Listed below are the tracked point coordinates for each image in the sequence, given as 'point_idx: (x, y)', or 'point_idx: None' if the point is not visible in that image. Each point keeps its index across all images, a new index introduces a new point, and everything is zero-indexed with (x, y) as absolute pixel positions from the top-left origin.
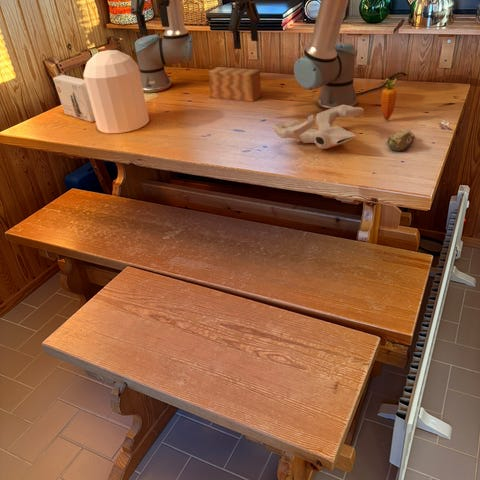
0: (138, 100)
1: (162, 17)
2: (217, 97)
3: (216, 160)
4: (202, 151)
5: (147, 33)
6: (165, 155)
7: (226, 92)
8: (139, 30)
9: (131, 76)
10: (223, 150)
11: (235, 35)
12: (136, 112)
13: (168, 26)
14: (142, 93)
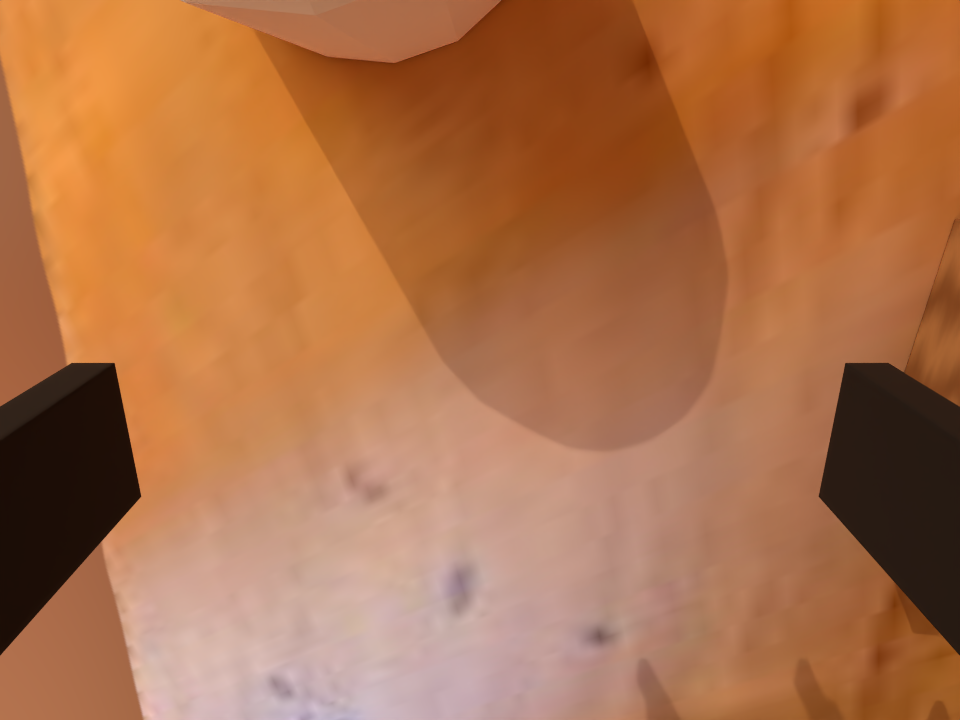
0: (337, 44)
1: (955, 501)
2: (939, 269)
3: (162, 627)
4: (209, 545)
5: (125, 508)
6: None
7: (939, 352)
8: (17, 398)
9: (253, 14)
10: (253, 614)
11: None
12: (306, 47)
13: (831, 500)
14: (420, 24)
